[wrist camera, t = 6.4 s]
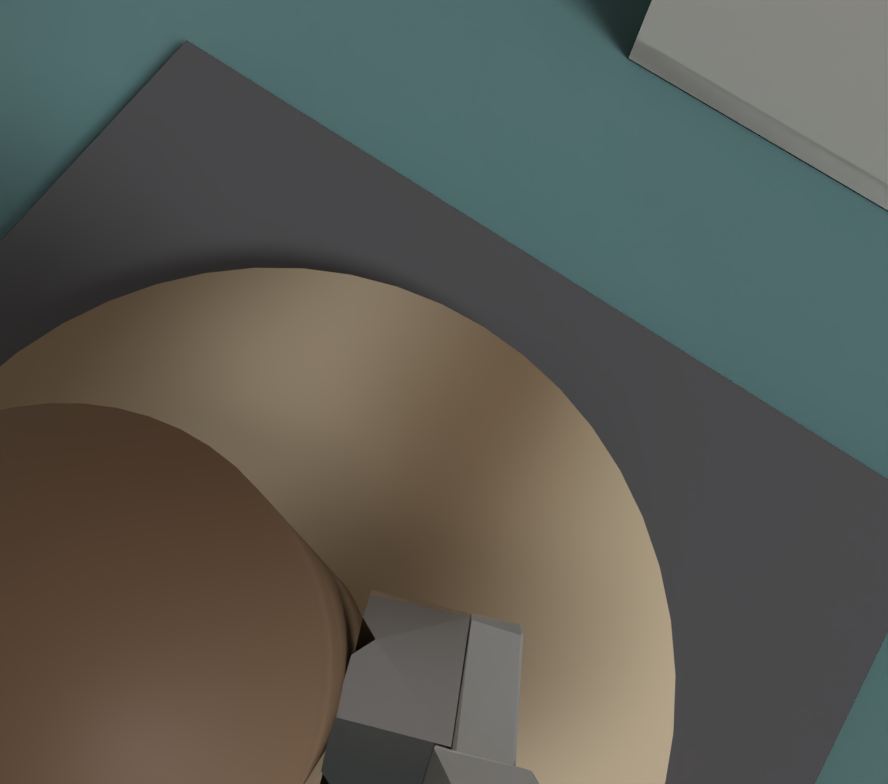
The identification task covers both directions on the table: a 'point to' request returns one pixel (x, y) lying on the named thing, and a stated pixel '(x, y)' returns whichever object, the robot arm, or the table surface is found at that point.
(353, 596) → the lid
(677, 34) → the white hollow square box
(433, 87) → the table surface
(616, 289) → the table surface
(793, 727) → the mat
